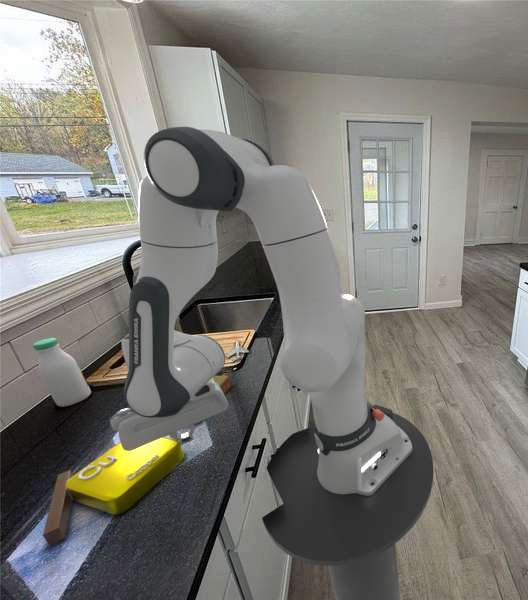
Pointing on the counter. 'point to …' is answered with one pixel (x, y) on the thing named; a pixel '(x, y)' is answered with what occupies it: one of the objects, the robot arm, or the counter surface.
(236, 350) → the toy airplane
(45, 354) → the milk bottle
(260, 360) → the counter surface
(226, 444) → the counter surface
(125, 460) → the element tile
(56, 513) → the back rail
